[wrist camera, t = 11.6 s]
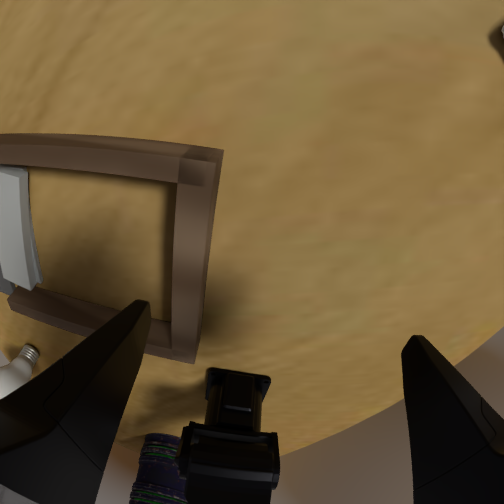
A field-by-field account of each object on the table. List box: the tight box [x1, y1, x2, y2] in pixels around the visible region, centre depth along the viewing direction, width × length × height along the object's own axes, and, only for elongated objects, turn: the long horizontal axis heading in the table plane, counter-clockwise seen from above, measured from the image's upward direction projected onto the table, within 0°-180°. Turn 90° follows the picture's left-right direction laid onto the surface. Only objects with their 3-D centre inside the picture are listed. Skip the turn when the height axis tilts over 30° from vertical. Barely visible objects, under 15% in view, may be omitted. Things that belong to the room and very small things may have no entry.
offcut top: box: [0, 165, 37, 291], centre depth 21 cm, size 12×4×1 cm, turn 161°
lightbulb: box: [0, 345, 39, 399], centre depth 28 cm, size 6×6×11 cm
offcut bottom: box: [0, 164, 43, 284], centre depth 22 cm, size 12×4×1 cm, turn 168°
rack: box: [0, 133, 224, 364], centre depth 21 cm, size 18×20×3 cm
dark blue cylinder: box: [129, 433, 188, 504], centre depth 38 cm, size 10×10×15 cm
